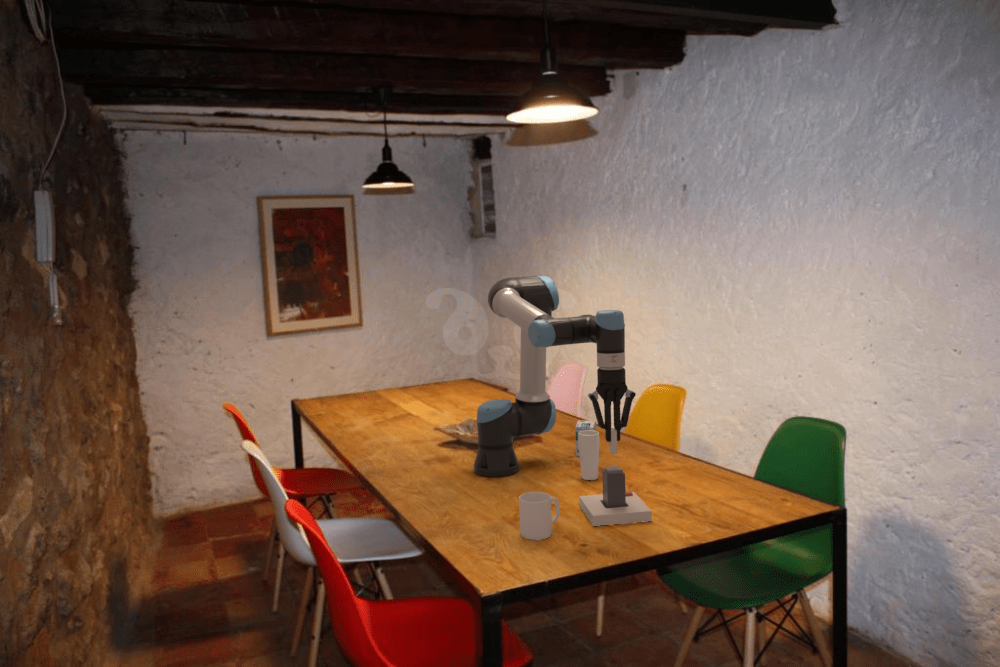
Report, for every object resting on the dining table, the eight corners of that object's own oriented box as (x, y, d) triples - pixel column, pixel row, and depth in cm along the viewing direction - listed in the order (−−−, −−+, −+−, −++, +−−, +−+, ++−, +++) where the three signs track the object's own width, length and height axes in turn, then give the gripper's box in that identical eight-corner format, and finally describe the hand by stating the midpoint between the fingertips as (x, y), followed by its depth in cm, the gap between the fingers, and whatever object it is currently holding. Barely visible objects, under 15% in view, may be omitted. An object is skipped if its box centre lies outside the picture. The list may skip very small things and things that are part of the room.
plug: (608, 517, 203) (606, 471, 202) (603, 511, 208) (602, 466, 207) (625, 516, 204) (624, 470, 203) (620, 510, 209) (619, 464, 207)
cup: (514, 533, 195) (512, 496, 194) (550, 522, 201) (549, 486, 200) (532, 543, 188) (531, 504, 187) (569, 531, 195) (568, 494, 193)
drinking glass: (602, 475, 240) (601, 430, 238) (598, 482, 234) (597, 435, 232) (581, 474, 242) (580, 429, 240) (577, 481, 236) (575, 434, 234)
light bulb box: (594, 457, 261) (594, 427, 260) (575, 456, 263) (574, 427, 261) (597, 449, 272) (596, 420, 270) (578, 448, 273) (577, 419, 272)
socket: (593, 526, 197) (593, 513, 197) (579, 506, 213) (579, 493, 213) (651, 521, 199) (651, 508, 199) (633, 501, 215) (633, 489, 215)
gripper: (590, 371, 197) (593, 458, 200) (638, 368, 198) (640, 454, 201) (584, 366, 204) (586, 450, 207) (630, 364, 206) (632, 447, 209)
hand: (613, 452), depth 204 cm, fingers closed
